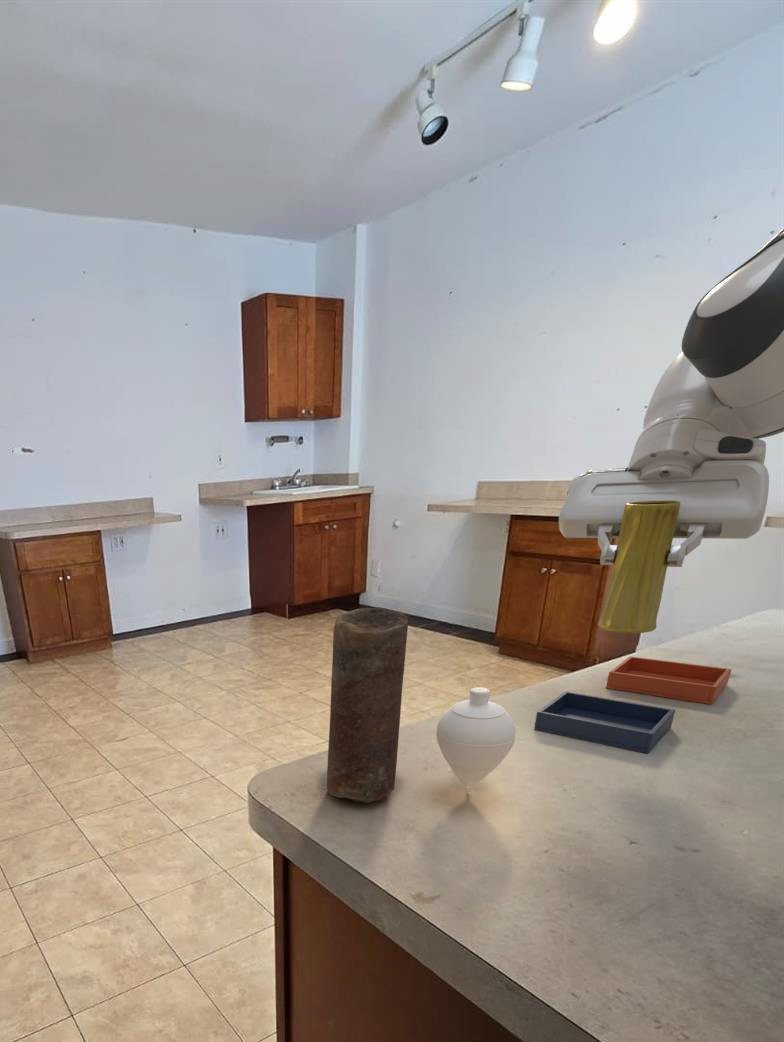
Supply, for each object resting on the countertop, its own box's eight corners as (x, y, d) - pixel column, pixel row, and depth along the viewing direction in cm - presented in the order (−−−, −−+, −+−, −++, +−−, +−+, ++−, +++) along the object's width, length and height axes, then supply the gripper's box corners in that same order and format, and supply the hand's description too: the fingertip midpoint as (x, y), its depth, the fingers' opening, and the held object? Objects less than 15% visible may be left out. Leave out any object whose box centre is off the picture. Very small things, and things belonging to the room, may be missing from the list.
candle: (405, 787, 72) (418, 609, 63) (382, 816, 66) (392, 625, 58) (342, 774, 76) (346, 605, 67) (315, 800, 70) (316, 620, 62)
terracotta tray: (726, 685, 93) (731, 668, 92) (711, 704, 87) (716, 687, 86) (626, 671, 102) (629, 656, 101) (605, 688, 96) (609, 672, 95)
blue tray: (670, 728, 81) (675, 709, 80) (648, 753, 75) (653, 734, 74) (562, 708, 90) (565, 691, 89) (533, 729, 84) (536, 711, 83)
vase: (609, 619, 82) (633, 500, 76) (664, 626, 78) (694, 499, 72) (589, 629, 79) (612, 505, 73) (644, 636, 74) (674, 504, 68)
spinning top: (438, 774, 74) (447, 675, 69) (509, 784, 71) (525, 681, 65) (424, 803, 68) (433, 697, 63) (502, 816, 65) (518, 705, 60)
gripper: (573, 453, 81) (541, 544, 78) (785, 439, 69) (755, 546, 66) (575, 489, 86) (545, 575, 83) (772, 482, 73) (745, 583, 71)
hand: (640, 562), depth 74 cm, fingers closed on vase, 5 cm apart
